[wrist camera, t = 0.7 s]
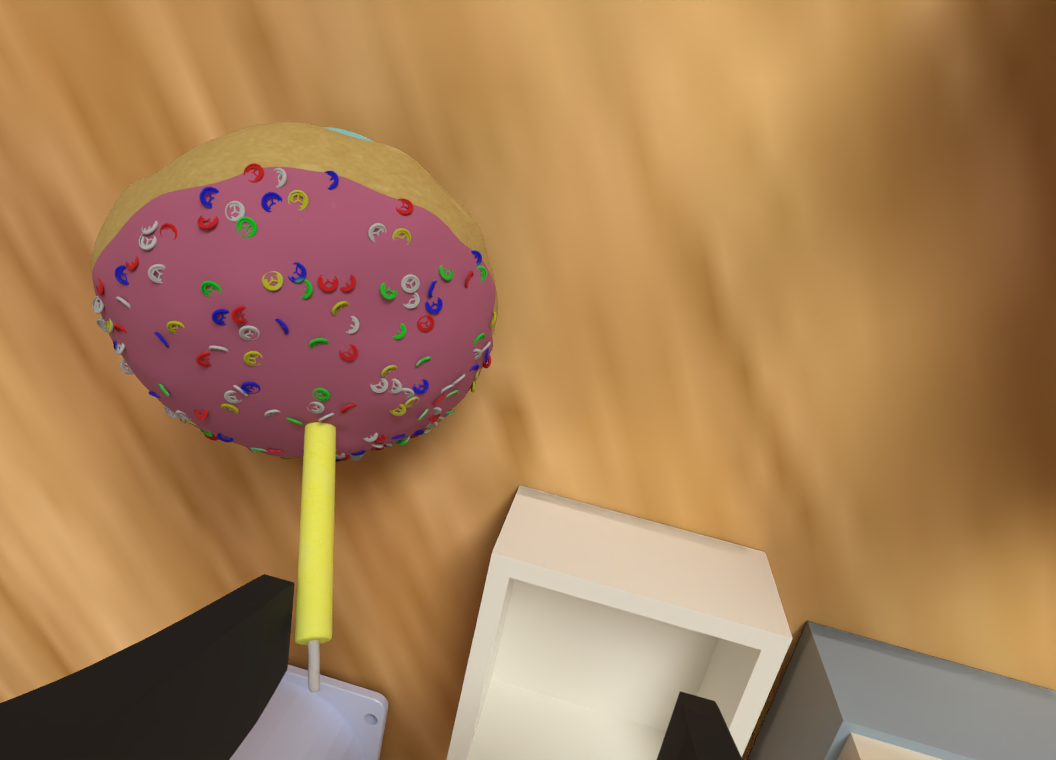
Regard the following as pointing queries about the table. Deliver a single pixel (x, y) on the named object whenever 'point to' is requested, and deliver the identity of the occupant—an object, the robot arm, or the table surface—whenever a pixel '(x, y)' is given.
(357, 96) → the table surface
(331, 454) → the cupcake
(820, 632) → the slate pot
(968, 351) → the table surface
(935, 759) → the lid
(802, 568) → the table surface
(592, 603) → the cream pot
